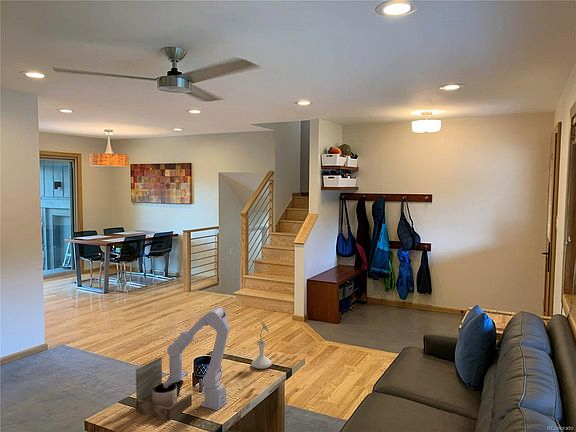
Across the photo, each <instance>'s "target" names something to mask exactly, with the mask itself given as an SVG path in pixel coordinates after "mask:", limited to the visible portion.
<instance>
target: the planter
mask: <svg viewBox="0 0 576 432" xmlns="http://www.w3.org/2000/svg"><path fill="white" fill-rule="evenodd" d="M163 383H164V382H162V383H160V384H157V385H155V386H154V387H153V388H152V403H153V404H157V405H160V406H164V407H167V408H169V407H171V406H172V405H174V404H175V403H177V402H178V397H177V385H176V384H174V383H172V384H171V385H170V386H168V388H164V387H163Z"/></svg>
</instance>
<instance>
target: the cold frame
mask: <svg viewBox="0 0 576 432" xmlns="http://www.w3.org/2000/svg"><path fill="white" fill-rule="evenodd" d="M162 359H163V357H159V358H156V359H154V360H152V361H150V362H148V363H146V364H143V365H142V366H140V367H138V368H136V369H135V385H136V386H135V393H136V395H135V399H136V400H135V402H136V403H135V404H136V405H135V406H136V407H135V408H136V409H135V410H136V412H137V413H140V414H143V415H146V416H147V415H148V416H149V417H150V416H151V417H153V418H156V419H161V420H163V421H167V422H170V421H172V420H173V419H174V418H176V417H177V416H178V415H180V414H181V413H182V412H184V411H186V410H187V409H189V408H190V407H192V406H193V394H191V393H189V394H187V395H186V396H184V397H182V398H181V399H180V400H177V403H175V404H174V405H172V406H171V407H169V408H167V407H164V406H160V405H157V404H153V403H152V388H153V387H154V386H155V385H157V384H160V383H163V380H162V379H163V378H162V377H163V375H162V374H163V367H162V365H163V363H162V362H163V361H162Z"/></svg>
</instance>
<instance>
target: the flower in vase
mask: <svg viewBox="0 0 576 432" xmlns="http://www.w3.org/2000/svg"><path fill="white" fill-rule="evenodd" d="M260 324H261V326H262V328H261V332H260V333H259V336H260V340H258V341H257V343H256V344H257V345H258V347H259V354H258V355H257V356H256V357H255V358H254V359H253V360H252V361H251V364H250V365H251V366H252V367H253V368H256V369H260V370H262V369H267V368H270V367H271V366H272V364H273V363H272V361H271V359H270V358H268V357H267V356H265V352H264V351H265V345H266V344H267V341H265V340H263V339H265V337H264V336H263V337H262V332H263V330H265V331H266V333H268V334H269V333H270V331H269V328H268V326H267V325H265V322H264V321H263V320H261V321H260Z"/></svg>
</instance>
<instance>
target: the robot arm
mask: <svg viewBox="0 0 576 432" xmlns="http://www.w3.org/2000/svg"><path fill="white" fill-rule="evenodd" d="M227 316H228V315H227V312H226V311H225V310H224V308H223V307H221V306H215V307H214V308H212V309H211V310H210V311H209V312H208V311H207V313H205V314H204V315H203V316H202V317H200V318H199V319H198V320H197V322H196V323H195V324H193V326H192V327H191V328H190V329H188V330H184V331H181V332H180V333H179V334H180V335H179V336H178V337H176V338H174V340H173V343H170V344H169V345H168V347H167V349H166V352H167V355H168V359H169V361H168V362H169V365H168V366H169V369H168V370H169V375H168V377H167V380H165V381H164V382H162V383H163V387H164V388H168V386H170V385H171V384H172V383H174V384H176V385H177V398H179V395H180V392H181V388H182V386H183V384H184V380H183V379H184V378H185V377H188V376H189V375H188V374H189V373H188V372H189V371H183V352H184V350H185V349H186V348H187V346H189V345H190V344H191V343H192V342H193V341H194V339H195V334H197V333H198V332H199V331H200V330H202V328H203V327H208V326H210V327H211V328H212V329H213V330H215V331H216V335H215V336H216V337H215V341H214V345H213V349H212V354H211V358H210V361H209V365H208V367H207V369H206V372H205V374H204V376H203V378H202V380H201V383H202V385H203V386H204V393H203V394H204V398H203V399H204V401H203V402H202V403H201V404H199V405H200V407H204V408H208V409H211V410H215V411H219V410H220V409H221V408H222V407H224V406H225V405H226V404H227V403H228V402H227V389H226V387H224V386H223V385H221V381H220V380H221V378H222V377H223V372H222V367H223V366H222V363H223V362H222V361H223V358H224V354H225V353H224V352H225V349H226V344H227V342H228V337H229V334H230V325H229V321H228V319H227V318H228V317H227Z"/></svg>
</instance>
